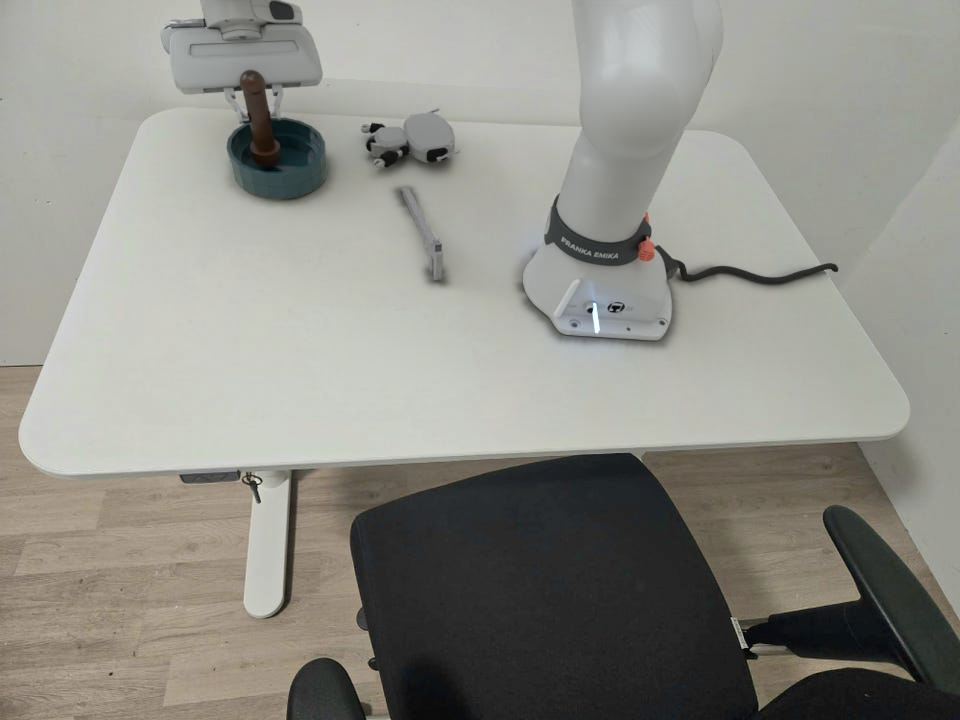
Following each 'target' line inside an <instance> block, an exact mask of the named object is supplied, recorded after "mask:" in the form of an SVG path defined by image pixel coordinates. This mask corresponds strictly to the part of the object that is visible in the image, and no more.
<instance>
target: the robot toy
mask: <svg viewBox="0 0 960 720" xmlns="http://www.w3.org/2000/svg"><path fill="white" fill-rule="evenodd" d="M440 110H441V108H439V107H437V108H435V109H433V110H430V111H428V112H424V113H423V112H422V113H417V114H411V115H409V117H407V118H405V120H404V122H403V126H402V127H403V128H401V126H386V125H384V124H382V123H377V122H371V123H370V125H369V124H368V123H367V124H362V125H361V128H360V131H361V132H362V133H363V134H369V135H368V140H367V141H366V143H365V148H366V150H367V151H368V152H369V153H371V155H372V156H373V157H374V158H375V159H374V160H373V163H372V165H373V166H374V167H375V168H377V169H382V168H389V167H391V166H393V165H395V164H396V163H397V160H398V159H399V158H401V157H402V158H403V157H407V156H409V155H410V154H411V156H412V157H414V158H415V159H416V160H418V161H420V162H423V163H426V164H429V163H436V162H437V163H438V162H442V161H447V160H449V158H451V157H452V156H453V155H457V154H460V152H461V149H457V150H455V144H456V143H455V142H456V139H455V138H456V137H455V133H454V128H453V127H452V126H451V125H450V124H449V122H448V121H447V120H446V119H445V118H444V117H442V116H441V115H440V114H437V112H439V111H440Z"/></svg>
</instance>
